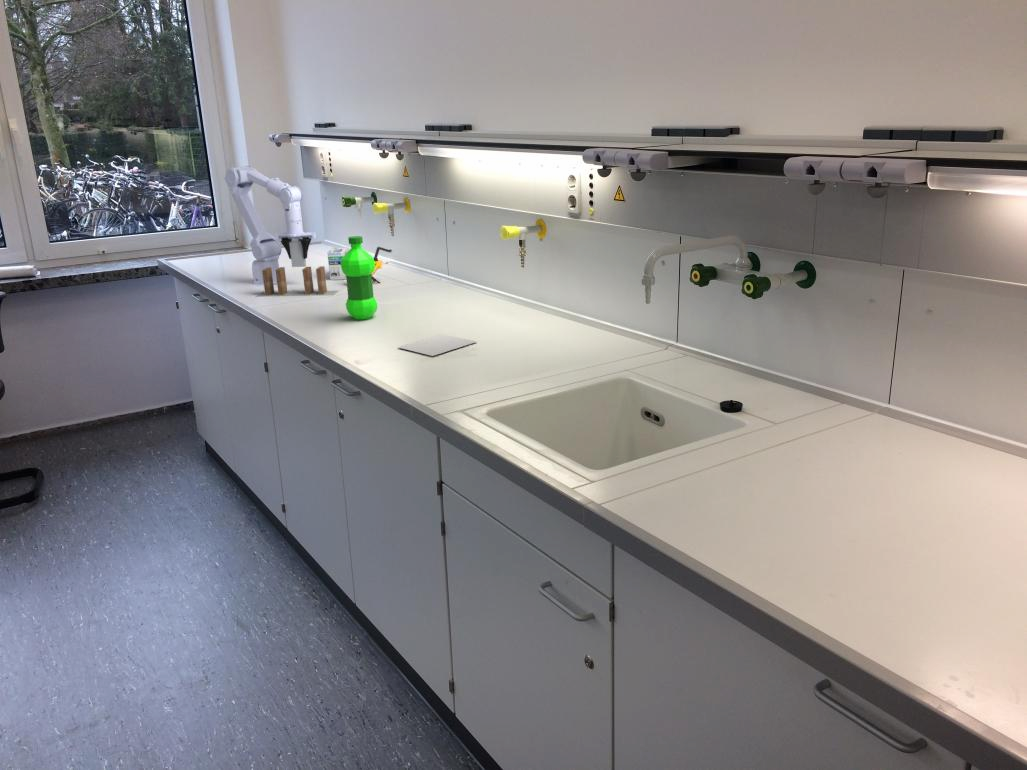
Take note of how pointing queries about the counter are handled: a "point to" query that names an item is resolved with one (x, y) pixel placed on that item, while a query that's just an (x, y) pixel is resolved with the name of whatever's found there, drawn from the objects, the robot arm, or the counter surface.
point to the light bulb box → (336, 263)
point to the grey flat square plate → (437, 344)
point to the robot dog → (378, 261)
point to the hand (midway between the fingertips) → (298, 258)
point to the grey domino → (297, 254)
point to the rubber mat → (297, 293)
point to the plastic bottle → (359, 280)
